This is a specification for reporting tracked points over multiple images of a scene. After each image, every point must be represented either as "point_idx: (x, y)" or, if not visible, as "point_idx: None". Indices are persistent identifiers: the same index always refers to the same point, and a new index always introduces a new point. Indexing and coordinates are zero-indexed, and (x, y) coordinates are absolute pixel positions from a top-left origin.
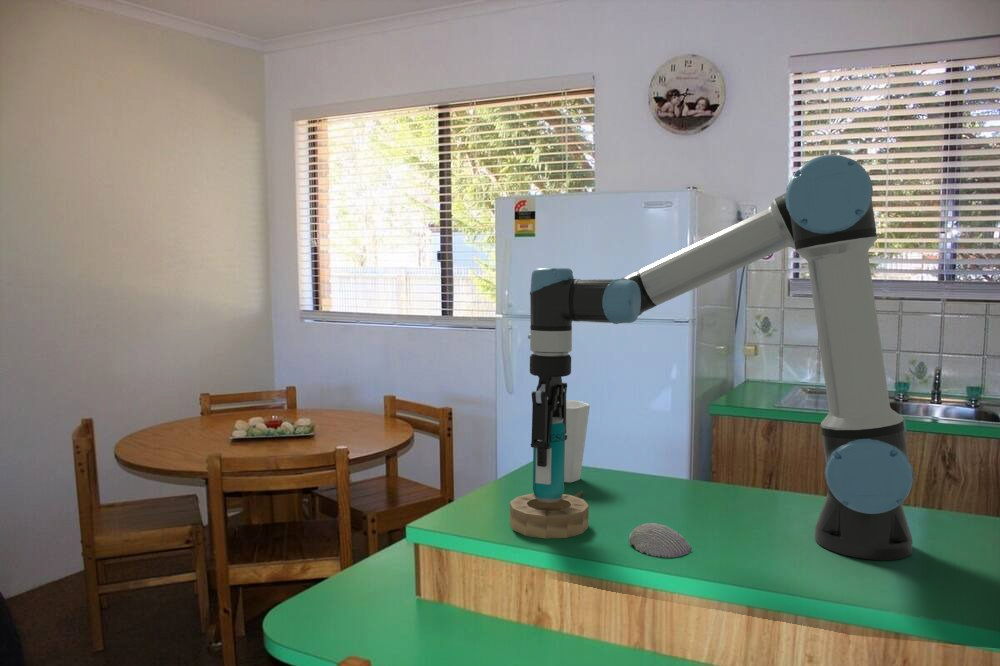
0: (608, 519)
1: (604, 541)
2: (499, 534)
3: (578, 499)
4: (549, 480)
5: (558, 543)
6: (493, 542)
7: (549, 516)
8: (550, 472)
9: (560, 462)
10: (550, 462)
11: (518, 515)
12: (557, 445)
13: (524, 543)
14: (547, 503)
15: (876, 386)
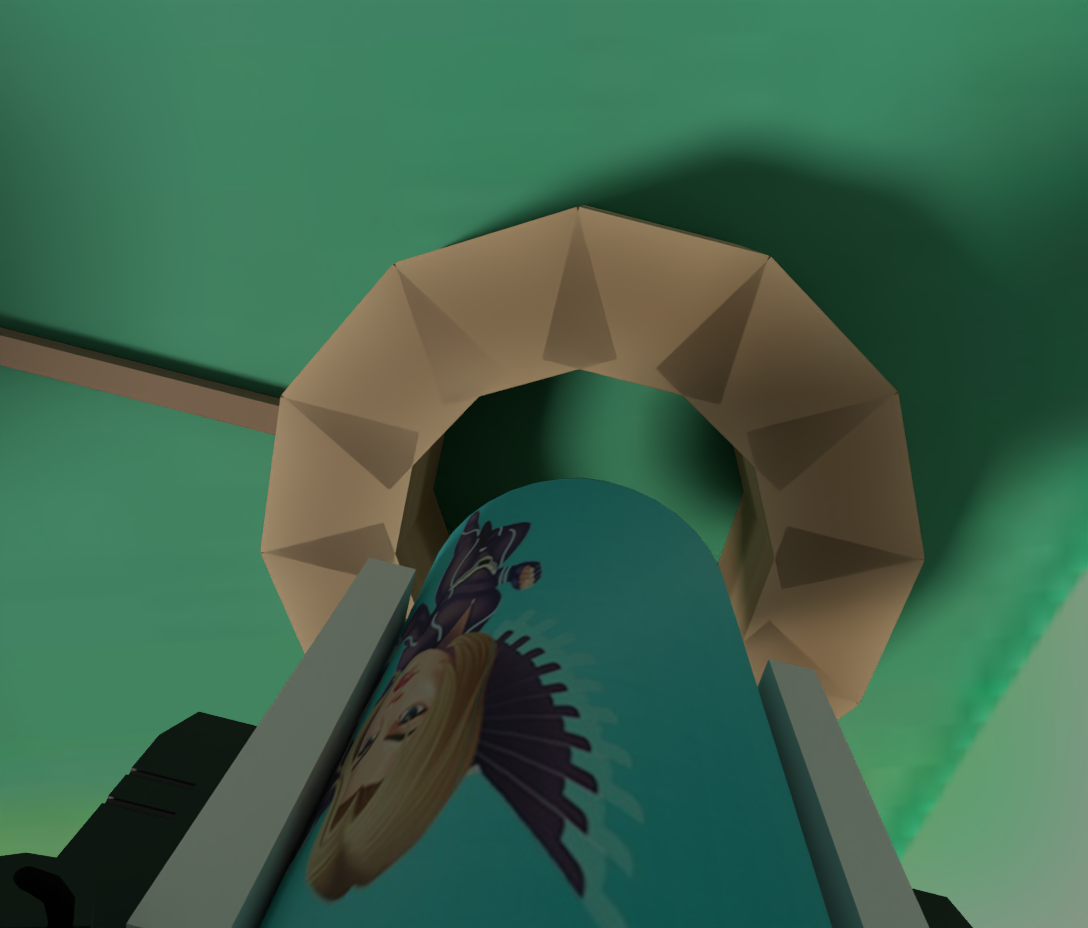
0: (364, 36)
1: (912, 60)
2: None
3: (399, 311)
4: (825, 703)
5: (957, 409)
6: (937, 776)
7: (919, 537)
8: (836, 758)
9: (723, 715)
10: (888, 875)
11: None
12: None
13: (956, 615)
14: (415, 552)
15: None
